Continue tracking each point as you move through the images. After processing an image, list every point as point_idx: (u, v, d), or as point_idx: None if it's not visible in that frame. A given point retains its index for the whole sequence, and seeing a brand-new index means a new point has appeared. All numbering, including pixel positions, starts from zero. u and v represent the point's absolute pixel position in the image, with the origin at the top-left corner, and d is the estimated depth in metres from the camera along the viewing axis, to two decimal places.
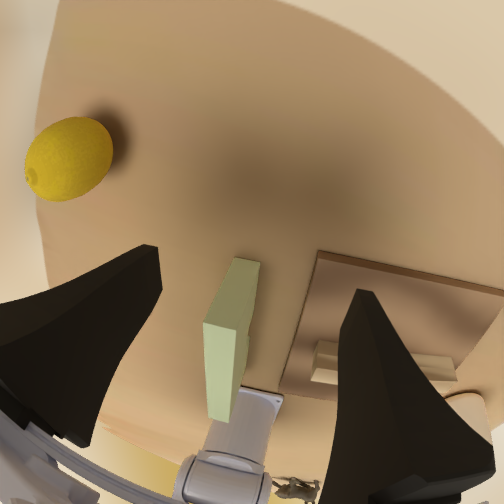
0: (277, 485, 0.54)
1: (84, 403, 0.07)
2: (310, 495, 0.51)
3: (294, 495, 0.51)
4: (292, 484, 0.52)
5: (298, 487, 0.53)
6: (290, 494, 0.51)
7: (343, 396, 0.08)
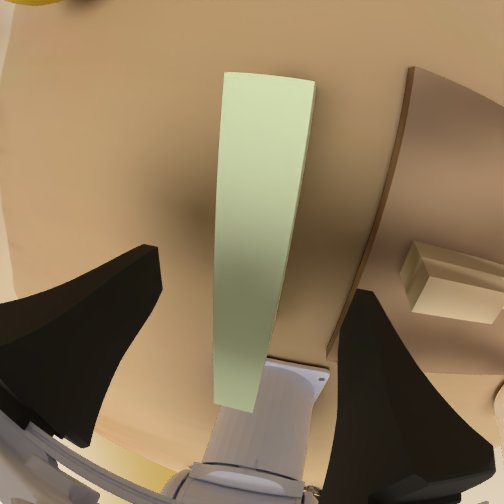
0: None
1: (84, 403, 0.07)
2: None
3: None
4: None
5: (316, 497, 0.42)
6: None
7: (343, 396, 0.08)
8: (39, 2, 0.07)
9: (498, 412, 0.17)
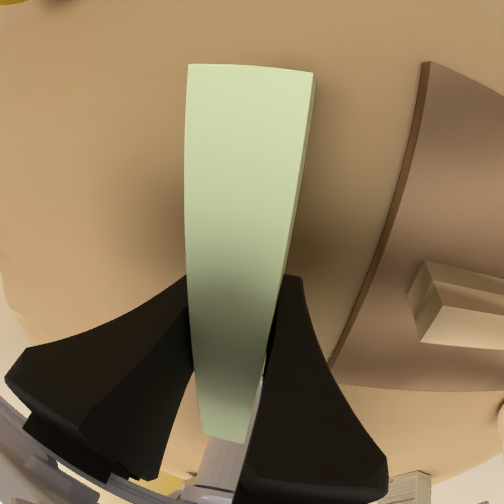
0: None
1: (158, 437, 0.06)
2: None
3: None
4: None
5: None
6: None
7: (263, 383, 0.08)
8: (9, 1, 0.05)
9: (502, 426, 0.15)
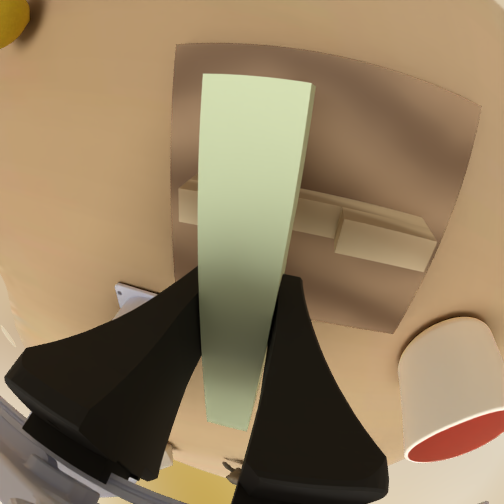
0: (229, 468, 0.48)
1: (158, 437, 0.06)
2: None
3: None
4: None
5: None
6: None
7: (263, 383, 0.08)
8: None
9: (399, 382, 0.21)
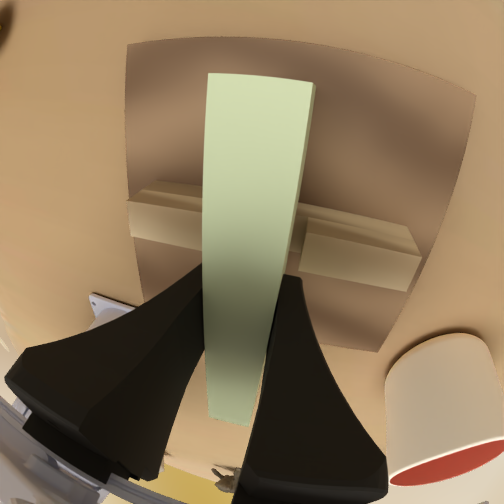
0: (218, 475, 0.46)
1: (158, 437, 0.06)
2: None
3: None
4: (237, 476, 0.45)
5: None
6: (233, 488, 0.43)
7: (263, 382, 0.08)
8: None
9: (385, 401, 0.20)
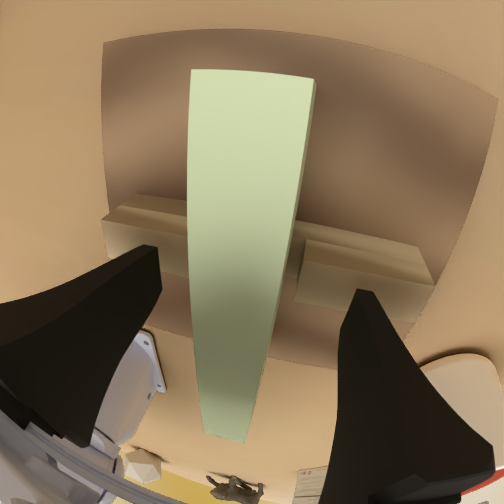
0: (213, 482, 0.44)
1: (84, 403, 0.07)
2: (251, 500, 0.42)
3: (232, 497, 0.42)
4: (232, 484, 0.43)
5: (238, 488, 0.44)
6: (228, 496, 0.42)
7: (343, 396, 0.08)
8: None
9: None
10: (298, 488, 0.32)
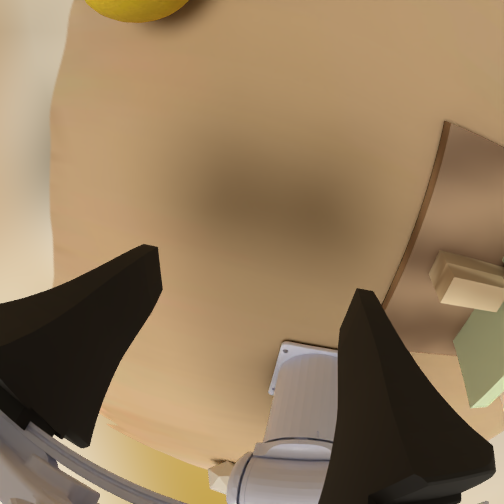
0: None
1: (84, 403, 0.07)
2: None
3: None
4: None
5: None
6: None
7: (343, 396, 0.08)
8: (133, 20, 0.10)
9: (502, 392, 0.20)
10: None
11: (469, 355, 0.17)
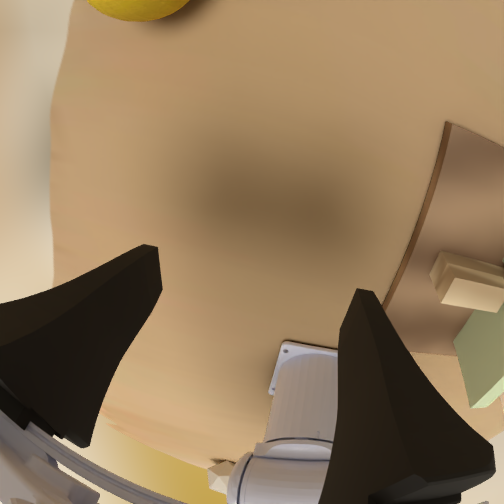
0: None
1: (84, 403, 0.07)
2: None
3: None
4: None
5: None
6: None
7: (343, 396, 0.08)
8: (135, 19, 0.10)
9: (502, 393, 0.20)
10: None
11: (469, 355, 0.17)
